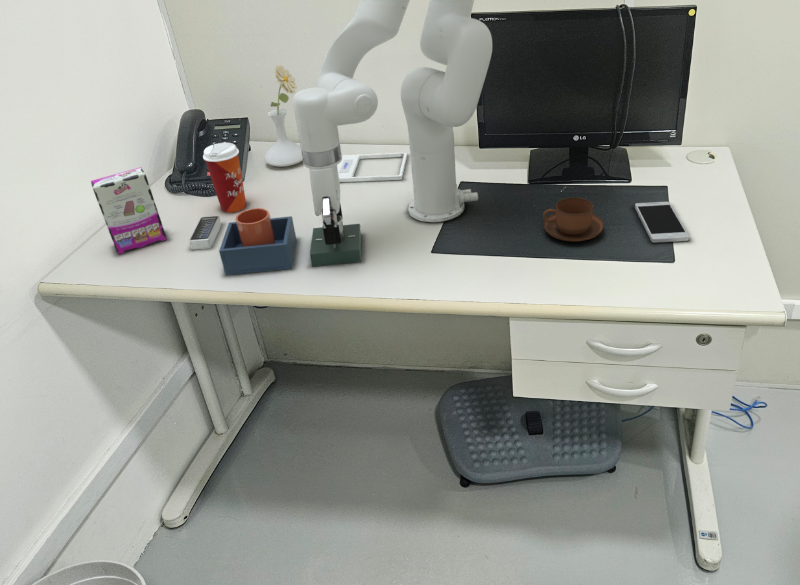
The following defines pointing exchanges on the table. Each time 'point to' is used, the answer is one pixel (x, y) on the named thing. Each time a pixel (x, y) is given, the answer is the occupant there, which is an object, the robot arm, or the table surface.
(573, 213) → the cup and saucer
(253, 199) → the table surface
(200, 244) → the multiport hub
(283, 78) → the flower in vase
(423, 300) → the table surface
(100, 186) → the candy bar box
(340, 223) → the rotary dial knob
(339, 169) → the photo frame
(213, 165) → the coffee cup
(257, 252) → the basin
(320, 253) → the green dial base
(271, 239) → the cup
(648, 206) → the smartphone
